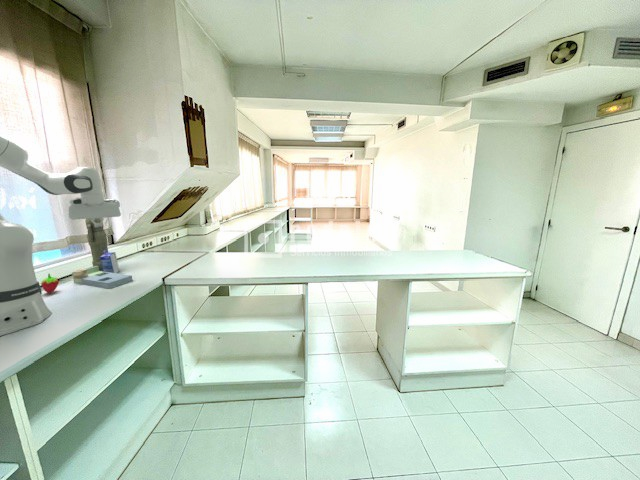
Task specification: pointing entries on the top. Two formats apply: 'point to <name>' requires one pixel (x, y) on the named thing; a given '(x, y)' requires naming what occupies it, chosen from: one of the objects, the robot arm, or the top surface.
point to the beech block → (80, 274)
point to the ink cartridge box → (109, 262)
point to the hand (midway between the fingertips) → (98, 226)
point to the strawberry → (49, 284)
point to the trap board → (103, 278)
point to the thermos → (96, 241)
